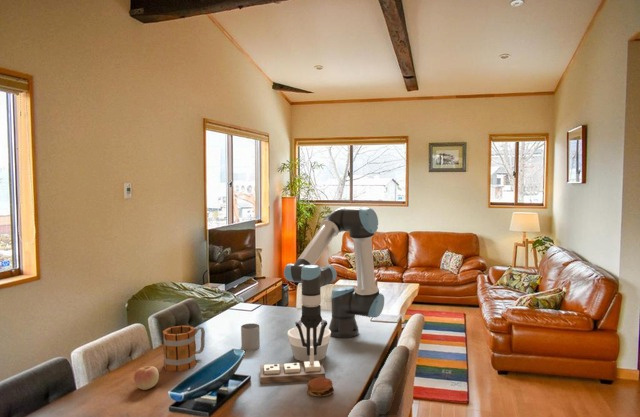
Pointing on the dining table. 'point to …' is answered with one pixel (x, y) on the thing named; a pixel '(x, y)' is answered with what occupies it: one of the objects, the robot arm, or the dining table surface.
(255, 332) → the cup
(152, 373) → the peach
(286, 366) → the tile two
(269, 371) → the tile three
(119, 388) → the dining table surface
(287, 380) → the board
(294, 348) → the bowl
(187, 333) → the mug
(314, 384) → the burger
